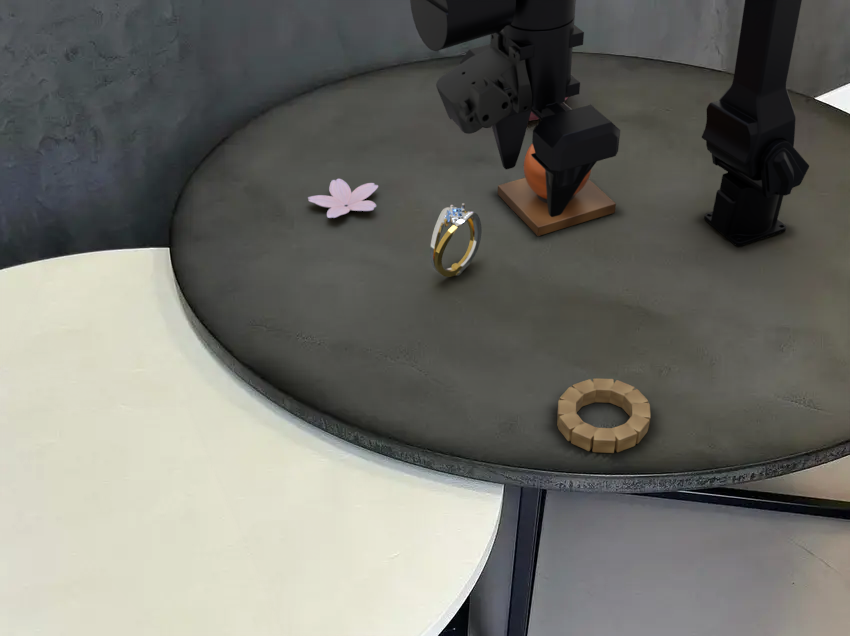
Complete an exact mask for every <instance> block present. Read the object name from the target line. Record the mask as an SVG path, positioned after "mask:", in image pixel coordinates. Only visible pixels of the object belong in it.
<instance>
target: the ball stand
mask: <svg viewBox="0 0 850 636" xmlns="http://www.w3.org/2000/svg"><path fill="white" fill-rule="evenodd" d="M533 153H535V150H534V147H533V143H531V144H530V145H529V147H528V149H527V151H526V153H525V156H524V161H523V173H524V177H523V178H519V179H516V180H512V181H509V182H508V181H507V182H504V183H502V184H498V185H497V195H498V196H499V198H500V199H502V200H503V202H505V204H506V205H507V206H508V207H509V208H510V210H512V211H513V212H514V213H515V214H516V215H517V216H518V217H519V218H520V219H521V220H522V221H523V223H524V224H526V226H527V227H528V228H530V230H531V231H532V232H533V233H534V234H535V235H536V236H537V237H540V236H543V235H547V234H549V233H550V234H551V233H553V232H556V231H560V230H563V229H567V228H569V227H573V226H575V225H579V224H582V223H585V222H586V223H587V222H589V221H592V220H595V219H598V218H599V219H600V218H602V217H604V216H608V215H612V214H615V213H616V208H617V207H616V206H617V203H616V202H615V201H614V200H613V199H611V197H610V196H608V194H607V193H605V192H604V191H603V190H602V189H601V188H599V187H598V185H596V184H595V183H594V182H593V181H592V180H590V176H591V173H592V169H591V170H590V171H589V172H588V174H587V175H586V176H585V178H584V179H583V181H582V182H581V184H580V185H579V187H578V189H577V190H576V192H575V193H574V195H573V196H572V198H571V200H570V201H569V203H568V204H567V206H566V208H565V209H564V211H563V212H562V214H561V215H558V216H555V217H551V216H550V215H549V212H548V204H547V191H546V175H545V169H544V168H543V167H542V166H541V165H540V164H539V163H538V162H537V161H536V160H535V159H534V158H533V157H532V156H531V154H533Z"/></svg>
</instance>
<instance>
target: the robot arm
mask: <svg viewBox="0 0 850 636" xmlns="http://www.w3.org/2000/svg"><path fill="white" fill-rule="evenodd" d="M802 1H803V0H744V4H743V10H742V16H741V17H742V18H741V25H740V32H739V39H738V46H737V52H736V58H735V66H734V71H733V80H732V83H731V85H730V86H729V87H728V88H727V89H726V91H725V92H724V93H723V95H722V96H721V97H720V98H719V99H718V100H716V101H715V100H714V101H711V102H709V104H708V105H707V107H706V122H705V128H704V129H703V133H702V135H701V139H702V140H704V141H705V143H706V144H705V146H706V148H707V149H706V150H707V151H708V152H709V153H710V154H711V159H712V160H711V161H712V164H713V165H715V166H717V167H720V169H722V170H724V171H726V173H723V174H722V176H721V181H720V186H719V189H717V190H716V195H715V198H714V202H713V203H714V204H713V208H712V211H710V212H706V213H705V214H704V218H703V219H704V220H705V221H706V223H708V224H709V225H710V226H712V227H713V228H714V229H715V230H716V231H718V232H719V233H720V234H721V235H722V236H724V238H726V239H727V240H728V241H730V242H731V243H732V244H733V245H735V246H736V247H742V246H745V245H747V244H751V243H755V242H758V241H760V240H763V239H766V238H769V237H773V236H776V235H779V234H781V233H784V232H786V230H787V225H786V224H785V223H783V221H781V220H779V215H780V210H781V207H782V202H783V199H784V196H785V197H786V196H788V195H791V193H792V190H793V189H794V188H796V187H799V186H800V185H801V184H802V182H803V180H804V178H805V176H806V174H807V172H808V171H809V168H810V165H809V164H808V162H807V161H806V160H805V159H804V158H803V156H802V155H801V154H800V153H799V151H798V150H796V148H795V136H796V120H797V117H796V113H795V109H794V107H793V104H792V101H791V98H790V94H789V91H788V88H787V81H788V76H789V70H790V64H791V59H792V55H793V48H794V44H795V40H796V39H795V38H796V33H797V27H798V23H799V17H800V12H801V8H802ZM409 2H410V11H411V15H412V19H413V22H414V27H415V29H416V31H417V33H418V35H419V38H420V39H421V41H422V42H423V44H424V45H425V46H426V48H428V49H429V50H431V51H433V52H438V51H441V50H445V49H448V48H451V47H454V46H457V45H461V44H464V43H468V42H470V41H471V42H472V41H474V40H477V39H480V38H484V37H487V36H490V41H489V42H490V43H488V44H485V45H481V46H477V47H472V48H469V49H468V50H467V51H466V52H465V54H464V56H463V57H462V58H461V59H460V61H459V65H457V66H455V67H454V68H453V69H450V70H449V71H448V72H445V74H443V75H442V76H441V77H439V78H438V79H437V81H436V83H435V87H436V90H437V93H438V95H439V97H440V99H441V102H442V104H443V106H444V109H445V111H446V114H447V116H448V118H449V119H450V120H452V121H453V122H454V123H455V124H456V125H457V126H458V128H459V129H460V131H461V132H462V133H464V134H468V135H469V134H475V133H476V132H478V131H480V130H482V129H483V128H484V129H490V128H492V133H493V135H494V140H495V144H496V146H497V150H498V153H499V157H500V161H501V164H502V167H503V168H504V169H505V170H510V169H513V168H515V167H516V165H517V162H518V159H519V156H520V153H521V150H522V147H523V143H524V139H525V136H526V132H527V129H528V124H529V122H530V121H529V117H530V114H531V112H532V113H533V114H534V115H535V116H537V117H538V118H539V119H538V120H540V121H539V122H538V123H537V124H536V126H535V127H534V128H533V129H532V141H531V142H532V143H533V147H534V150H535V153H533V154H531V156H532V157H533V158H534V159H535V160H536V161H537V162H538V163H539V164H540V165H541V166H542V167H543V168H544V169H545V175H546V191H547V204H548V212H549V215H550V216H551V217H555V216H558V215H561V214H562V212H563V211H564V209H565V208H566V206H567V204H568V203H569V201H570V200H571V198H572V196H573V195H574V193H575V192H576V190H577V189H578V187H579V185H580V184H581V182H582V181H583V179H584V178H585V176H586V175H587V174H588V172H589V171H590V170H591V171H592V168H593V167H594V166H595V165H596V163H597V162H600V161H603V160H606V159H610V158H613V157H617V154H618V152H619V146H620V139H621V138H620V136H621V129H620V128H619V127H618V126H616V124H615V123H613V122H612V121H611V120H610V119H608V118H607V116H605V115H604V114H603V113H601V112H600V111H599V110H598V109H597V108H595V106H593V104H587V105H584V106H579V107H576V108H573V109H572V108H571V107H570V106H568V104H566V103H565V102H566V100H565V98H566V97H568V98H569V97H574V96H578V95H580V91H581V90H580V89H581V82H580V81H579V79H577V78H576V77H574V76H573V75H572V61H573V49H574V48H576V47H580V46H583V45H584V38H585V31H583V30H582V29H581V28H579V27H578V25H577V26H576V25H575V20H576V19H575V18H576V4H577V0H409ZM532 143H531V144H532Z"/></svg>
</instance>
